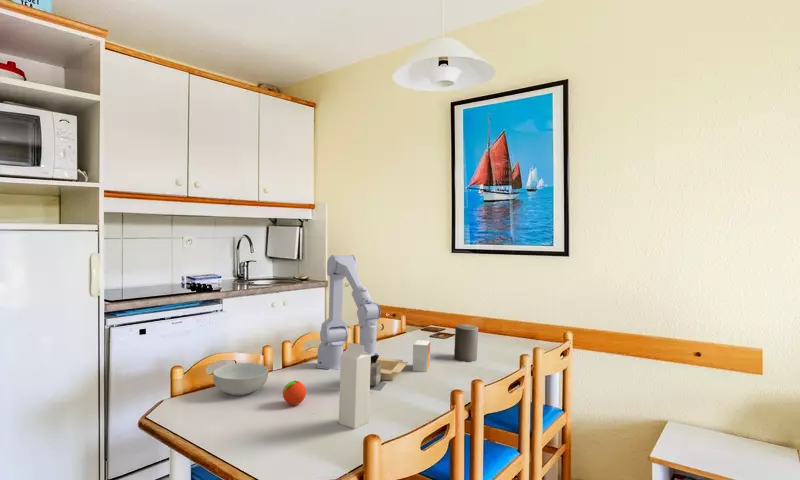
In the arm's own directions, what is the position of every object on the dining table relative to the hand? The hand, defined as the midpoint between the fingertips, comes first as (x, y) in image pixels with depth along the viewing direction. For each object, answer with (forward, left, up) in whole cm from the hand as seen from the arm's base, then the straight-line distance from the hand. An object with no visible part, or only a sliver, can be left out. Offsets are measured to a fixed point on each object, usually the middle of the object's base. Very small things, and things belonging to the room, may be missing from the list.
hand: (366, 378), depth 161 cm
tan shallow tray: (+1, +14, -3) cm, 14 cm away
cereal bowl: (-37, -18, -3) cm, 41 cm away
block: (0, 0, -1) cm, 1 cm away
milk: (+6, -30, -3) cm, 31 cm away
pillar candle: (+29, +46, -3) cm, 54 cm away
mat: (0, 0, -3) cm, 3 cm away
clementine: (-16, -23, -3) cm, 28 cm away
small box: (+14, +25, -3) cm, 29 cm away
